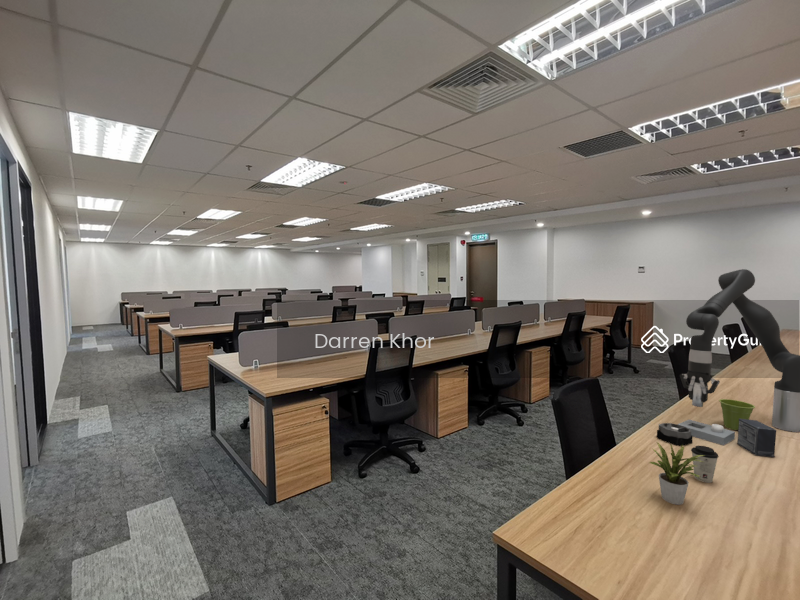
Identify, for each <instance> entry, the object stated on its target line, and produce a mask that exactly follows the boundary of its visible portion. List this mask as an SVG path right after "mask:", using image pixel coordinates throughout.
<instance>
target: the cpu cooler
mask: <svg viewBox="0 0 800 600" xmlns="http://www.w3.org/2000/svg"><path fill="white" fill-rule="evenodd" d="M677 424H678V423H671V422H667V423H666V422H662V423H658V429H656V438H657V437H658V438H657V439H658V440H660V439H661V441H664V442H665V441H666V443H669V444H671V445H672V446H679V447H681V446H683V447H685V446H687V445H691V444H693V438H694V437H693V436H692V435H691V430H690V429H689V428H687V427H685V426H681V425H677Z"/></svg>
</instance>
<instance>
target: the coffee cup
mask: <svg viewBox="0 0 800 600" xmlns="http://www.w3.org/2000/svg"><path fill="white" fill-rule="evenodd" d="M690 451H691V454H692V455H691V457H693V456H697V455H705V456H699V457H697V458H701V459H695V460H700V461H703V462H700V461H692V465H695V466H694V467H692V469H694V470H693V473H695V474H696V475H699V478H698V477H697V476H695V475H693V477H694V479H695V480H697V481H699V482H703V483H709V484H710V483H713V480H714V476H715V475H714V474H715V471H716V467H717V462H718V458H719V455H718V453H717V452H716V451H715V449H714V448H712V447H710V446H707V445H696V446H694V447H692V448H691V450H690ZM700 476H701V477H700Z"/></svg>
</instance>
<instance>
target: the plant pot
mask: <svg viewBox="0 0 800 600" xmlns="http://www.w3.org/2000/svg"><path fill="white" fill-rule="evenodd" d="M718 401H719V402H720V407H721V413H722V420H723V427H725V429H728V430H731V431H738V428H739V419H748V420H750V418H751V415H752V413H753V411H754V409H756V406H755V405H754V404H752V403H749V402H745V401H741V400H736V399H731V398H730V399H728V398H721V399H718Z"/></svg>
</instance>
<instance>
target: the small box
mask: <svg viewBox="0 0 800 600" xmlns="http://www.w3.org/2000/svg"><path fill="white" fill-rule="evenodd" d="M737 431H738V432H737V442H736V444H737V445H738V446H739V447H741V448H743V449H744V450H746V451H748V452H749V453H751V454H753V455H754V456H755V457H756V456H757V457H758V456H760V457H769V458H775V451H776V440H777V438H776V437H777V436H776V435H777V429H776V428H774V427H773V428H772V427H771V426H768V425H767V424H765V423H762V422H761V421H758V420H756V419H749V420H748V419H739V428H738V430H737Z"/></svg>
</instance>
